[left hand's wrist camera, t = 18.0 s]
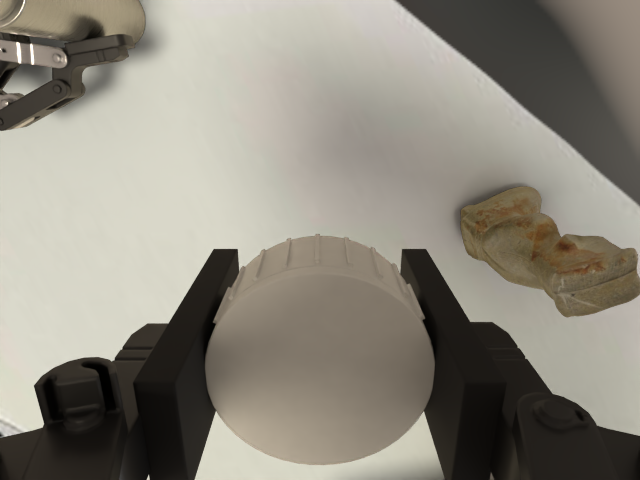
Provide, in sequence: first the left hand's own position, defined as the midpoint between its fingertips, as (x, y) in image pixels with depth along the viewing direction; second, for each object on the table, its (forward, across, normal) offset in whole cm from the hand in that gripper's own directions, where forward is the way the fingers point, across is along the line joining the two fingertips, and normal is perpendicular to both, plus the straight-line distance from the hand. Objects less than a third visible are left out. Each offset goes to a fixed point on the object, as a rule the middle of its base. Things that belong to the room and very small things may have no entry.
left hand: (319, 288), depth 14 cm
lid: (-4, 0, 0) cm, 4 cm away
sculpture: (+25, -15, +5) cm, 30 cm away
